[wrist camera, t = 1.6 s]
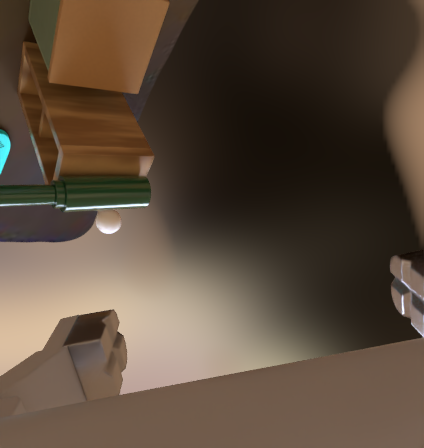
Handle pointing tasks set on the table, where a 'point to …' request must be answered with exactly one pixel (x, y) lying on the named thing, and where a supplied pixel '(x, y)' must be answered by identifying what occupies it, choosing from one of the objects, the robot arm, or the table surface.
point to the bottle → (81, 193)
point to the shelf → (79, 126)
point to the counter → (97, 40)
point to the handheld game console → (4, 148)
